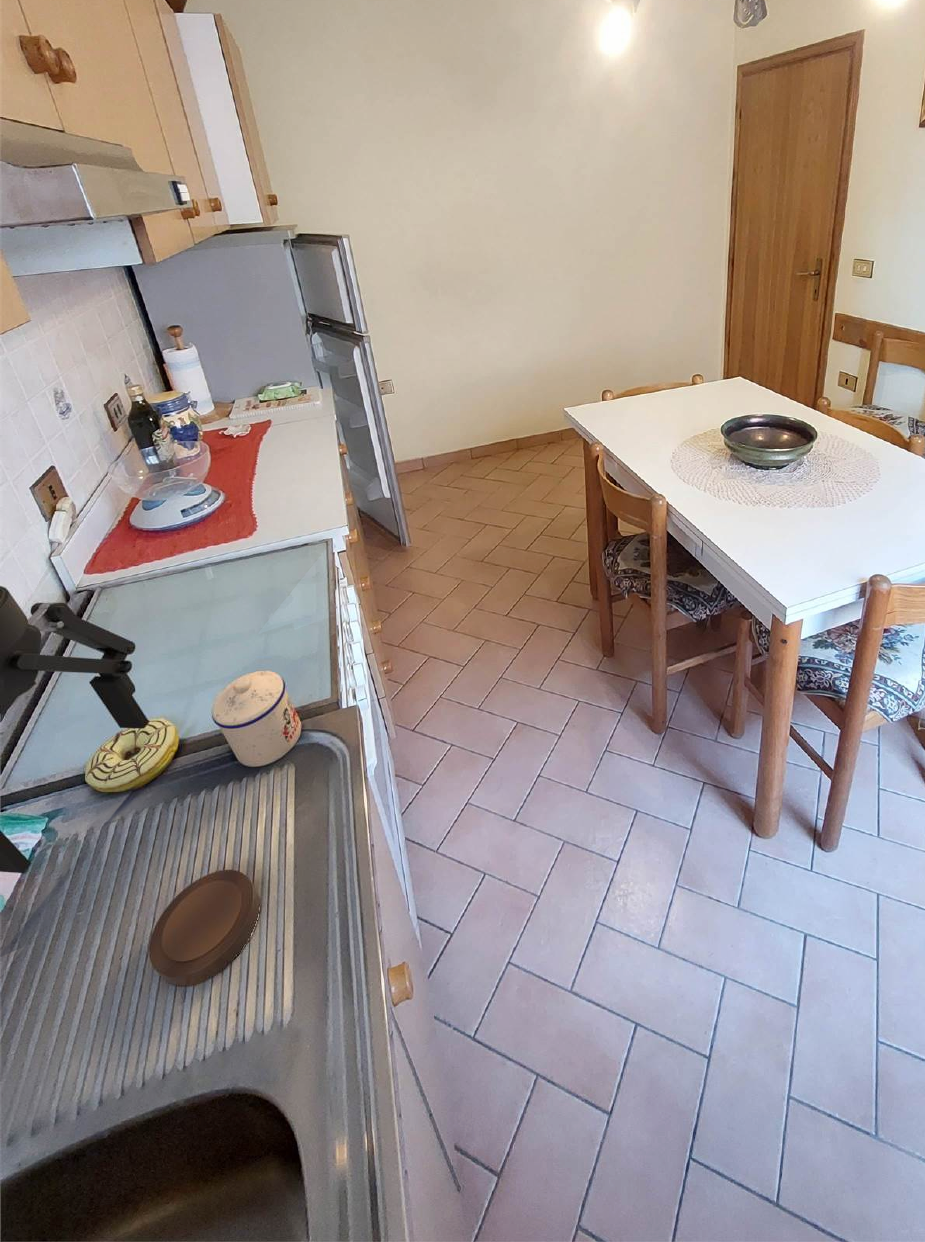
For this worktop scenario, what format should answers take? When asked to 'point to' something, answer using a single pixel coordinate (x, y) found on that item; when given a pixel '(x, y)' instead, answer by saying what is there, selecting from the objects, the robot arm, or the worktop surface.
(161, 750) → the decorated donut
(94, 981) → the worktop surface
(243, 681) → the teacup with lid
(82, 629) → the robot arm
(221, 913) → the plate
